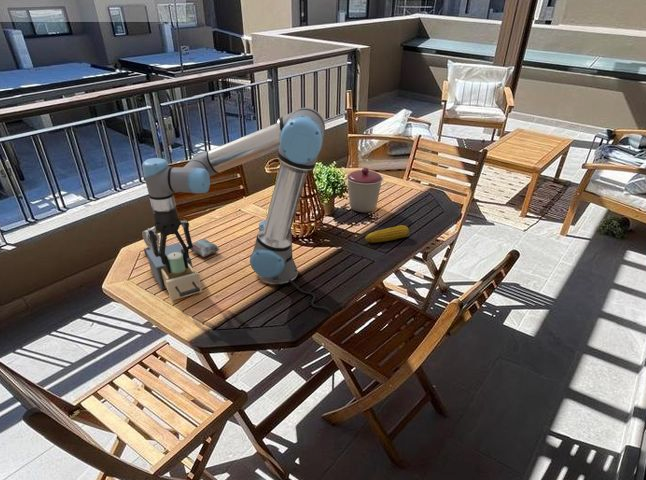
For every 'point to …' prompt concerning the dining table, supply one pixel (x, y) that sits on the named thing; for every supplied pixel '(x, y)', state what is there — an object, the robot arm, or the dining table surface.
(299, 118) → the robot arm
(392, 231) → the food
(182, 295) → the drawer
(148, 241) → the watch
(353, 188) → the canister
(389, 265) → the dining table surface
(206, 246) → the packaged food
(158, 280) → the cabinet
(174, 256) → the votive
